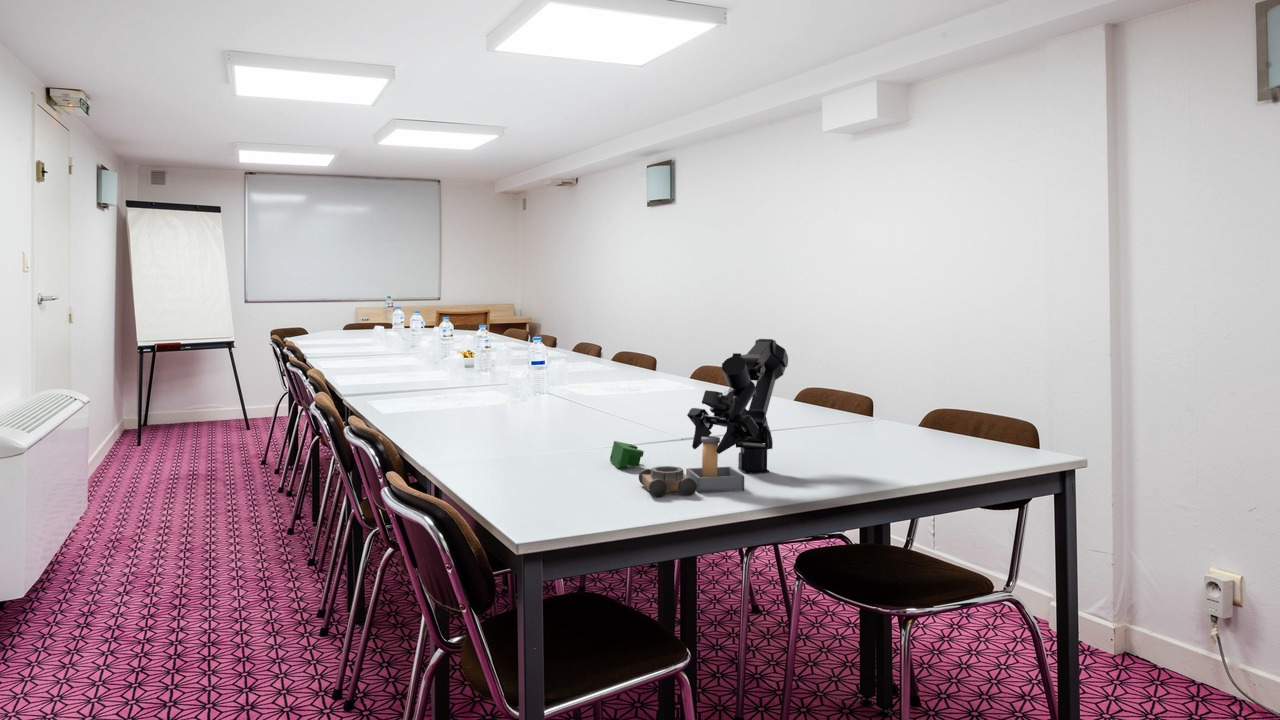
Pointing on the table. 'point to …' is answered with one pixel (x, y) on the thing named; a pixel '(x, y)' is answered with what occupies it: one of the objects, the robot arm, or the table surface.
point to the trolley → (667, 481)
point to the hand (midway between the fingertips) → (705, 450)
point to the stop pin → (709, 456)
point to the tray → (717, 480)
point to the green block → (625, 455)
